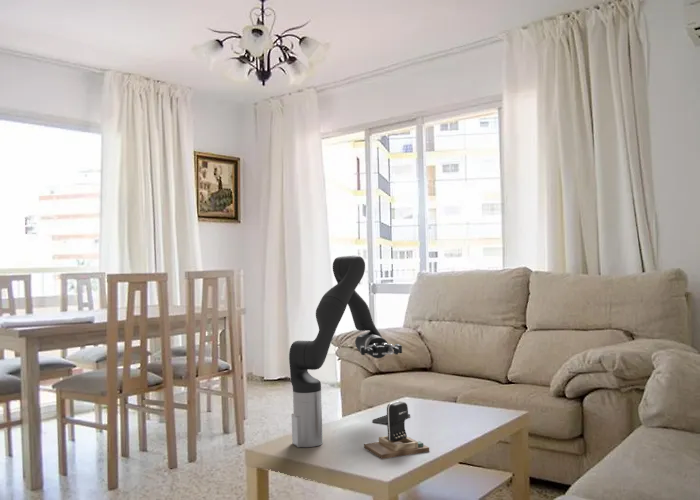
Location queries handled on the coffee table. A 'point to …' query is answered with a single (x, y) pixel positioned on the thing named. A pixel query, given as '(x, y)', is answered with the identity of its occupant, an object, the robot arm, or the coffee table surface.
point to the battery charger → (396, 420)
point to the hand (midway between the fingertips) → (384, 352)
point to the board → (395, 447)
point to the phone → (382, 420)
